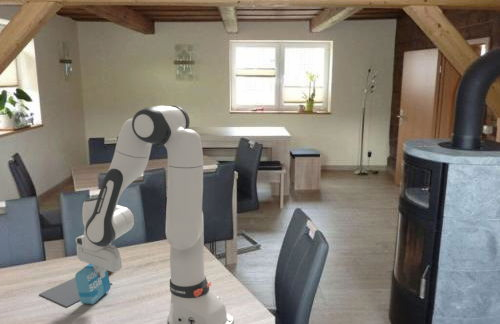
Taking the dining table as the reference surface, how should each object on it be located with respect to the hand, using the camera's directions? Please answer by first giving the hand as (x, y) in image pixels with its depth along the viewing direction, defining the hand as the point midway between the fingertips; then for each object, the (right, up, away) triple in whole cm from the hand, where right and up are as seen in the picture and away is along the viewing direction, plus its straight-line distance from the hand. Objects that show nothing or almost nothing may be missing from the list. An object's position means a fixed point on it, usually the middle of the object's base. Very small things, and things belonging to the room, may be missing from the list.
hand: (100, 276), depth 151 cm
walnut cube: (-5, -5, +25) cm, 26 cm away
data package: (-3, -9, +4) cm, 10 cm away
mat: (-13, -8, +10) cm, 18 cm away
